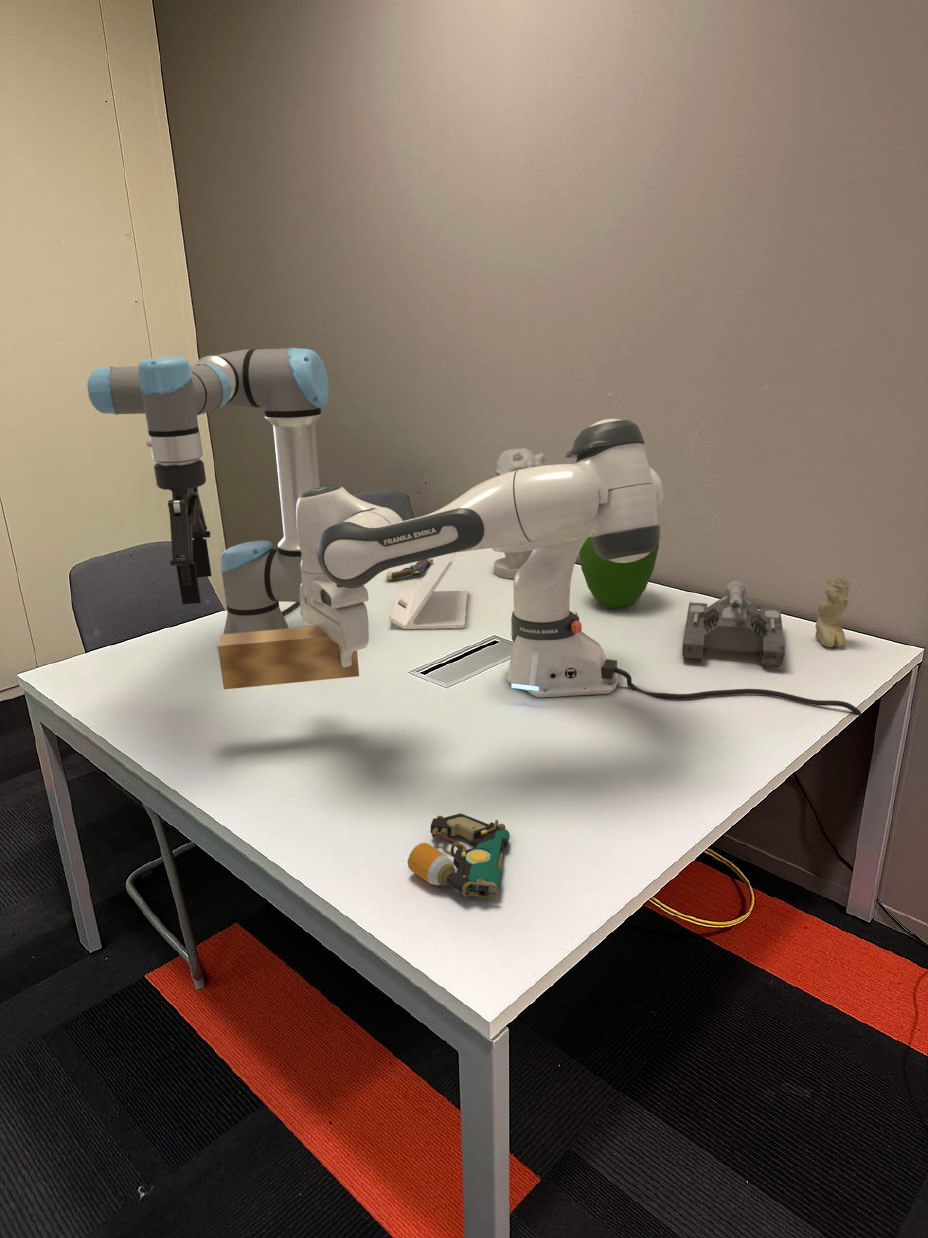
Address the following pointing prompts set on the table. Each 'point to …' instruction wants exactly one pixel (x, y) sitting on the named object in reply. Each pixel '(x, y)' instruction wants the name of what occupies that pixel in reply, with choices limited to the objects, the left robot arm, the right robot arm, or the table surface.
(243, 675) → the bar
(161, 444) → the left robot arm
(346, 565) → the right robot arm
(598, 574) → the vase
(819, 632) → the sculpture
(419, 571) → the toy gun
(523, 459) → the bust sculpture
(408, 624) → the tablet stand
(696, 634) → the toy
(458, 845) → the spray gun
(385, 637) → the table surface
